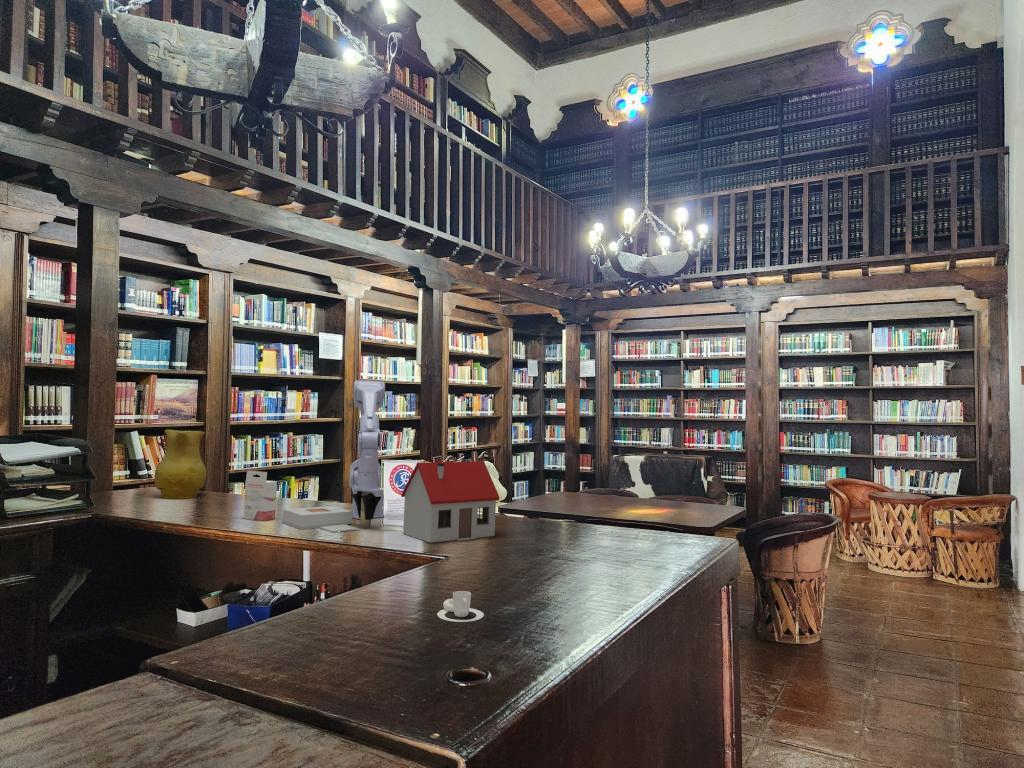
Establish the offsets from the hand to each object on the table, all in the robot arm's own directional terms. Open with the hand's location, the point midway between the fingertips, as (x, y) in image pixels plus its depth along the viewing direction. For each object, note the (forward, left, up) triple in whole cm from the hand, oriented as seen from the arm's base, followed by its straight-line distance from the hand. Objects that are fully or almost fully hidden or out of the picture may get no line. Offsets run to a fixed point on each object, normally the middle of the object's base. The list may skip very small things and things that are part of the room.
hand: (365, 518), depth 193 cm
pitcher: (+25, -91, -3) cm, 94 cm away
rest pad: (+8, -1, -3) cm, 8 cm away
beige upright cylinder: (0, 0, -3) cm, 3 cm away
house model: (-14, +22, -3) cm, 27 cm away
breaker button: (+9, -12, 0) cm, 15 cm away
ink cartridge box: (+20, -29, -3) cm, 35 cm away
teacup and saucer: (+26, +82, -3) cm, 86 cm away
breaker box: (+9, -12, -3) cm, 16 cm away
